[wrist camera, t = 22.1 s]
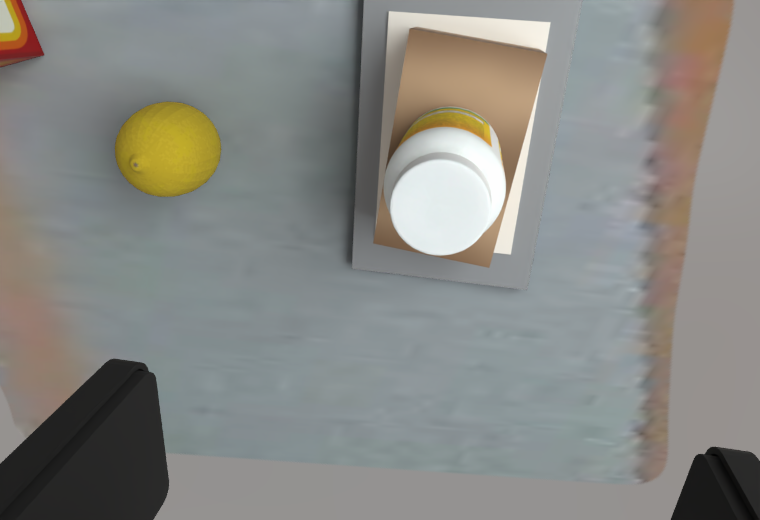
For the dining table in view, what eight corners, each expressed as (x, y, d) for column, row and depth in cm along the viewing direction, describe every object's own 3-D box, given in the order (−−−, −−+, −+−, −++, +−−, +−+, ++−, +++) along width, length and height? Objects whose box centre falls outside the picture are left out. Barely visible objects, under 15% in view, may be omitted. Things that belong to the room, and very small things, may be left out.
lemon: (251, 121, 37) (197, 148, 30) (221, 190, 39) (164, 231, 32) (176, 77, 37) (103, 93, 29) (150, 150, 39) (76, 182, 32)
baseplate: (368, -39, 32) (365, -40, 31) (584, -26, 31) (588, -27, 30) (354, 262, 40) (351, 269, 39) (526, 283, 39) (527, 291, 38)
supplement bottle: (517, 171, 31) (535, 235, 22) (432, 218, 32) (417, 294, 24) (468, 83, 29) (466, 114, 20) (382, 137, 31) (346, 187, 22)
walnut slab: (416, 26, 32) (409, 28, 28) (539, 48, 32) (547, 53, 28) (382, 220, 37) (372, 243, 34) (487, 242, 37) (489, 268, 33)
